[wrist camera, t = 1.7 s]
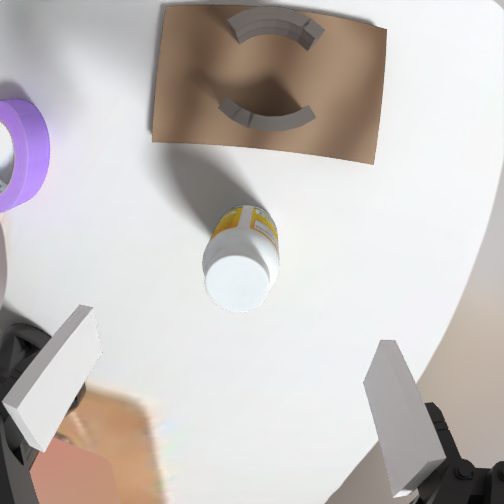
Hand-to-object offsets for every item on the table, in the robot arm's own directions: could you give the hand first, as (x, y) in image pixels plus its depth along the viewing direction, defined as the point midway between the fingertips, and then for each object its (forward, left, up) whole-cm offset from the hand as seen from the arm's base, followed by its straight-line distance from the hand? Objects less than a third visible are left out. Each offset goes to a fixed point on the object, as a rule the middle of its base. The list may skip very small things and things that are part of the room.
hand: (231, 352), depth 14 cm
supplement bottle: (0, 0, -16) cm, 16 cm away
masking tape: (-18, +20, -16) cm, 32 cm away
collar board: (+8, +11, -16) cm, 21 cm away
